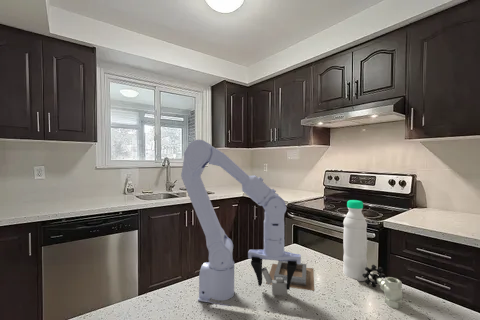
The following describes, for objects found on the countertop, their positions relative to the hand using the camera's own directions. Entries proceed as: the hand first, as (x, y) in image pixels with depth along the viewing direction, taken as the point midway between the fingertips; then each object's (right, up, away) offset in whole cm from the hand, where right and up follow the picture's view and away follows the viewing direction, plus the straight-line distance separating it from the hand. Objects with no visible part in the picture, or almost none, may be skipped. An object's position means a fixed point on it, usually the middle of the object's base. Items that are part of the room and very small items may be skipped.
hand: (274, 285), depth 69 cm
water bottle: (+28, -3, +12) cm, 31 cm away
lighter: (0, -3, 0) cm, 3 cm away
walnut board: (+7, -3, +10) cm, 13 cm away
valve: (+31, -3, 0) cm, 31 cm away
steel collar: (+7, -2, +10) cm, 13 cm away
